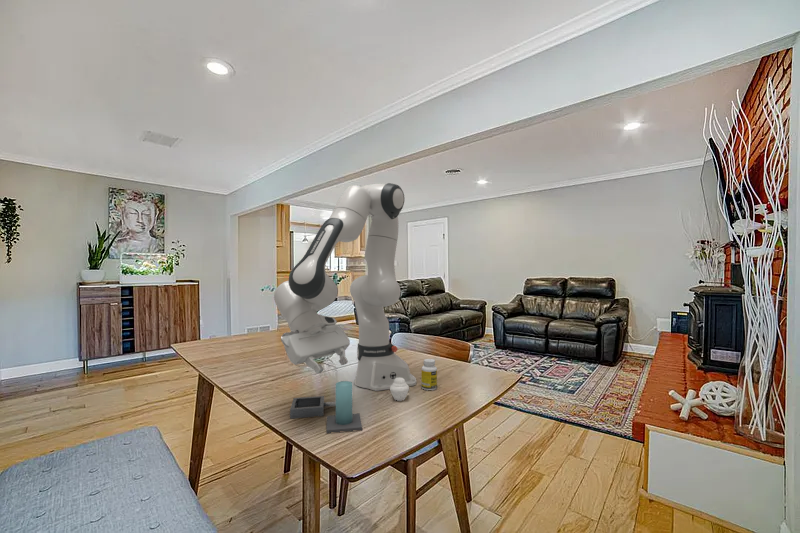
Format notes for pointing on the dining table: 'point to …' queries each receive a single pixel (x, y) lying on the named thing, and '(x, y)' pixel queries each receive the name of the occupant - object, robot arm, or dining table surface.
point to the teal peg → (343, 402)
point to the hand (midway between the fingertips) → (333, 367)
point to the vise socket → (309, 411)
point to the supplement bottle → (429, 375)
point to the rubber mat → (335, 427)
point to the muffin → (399, 389)
